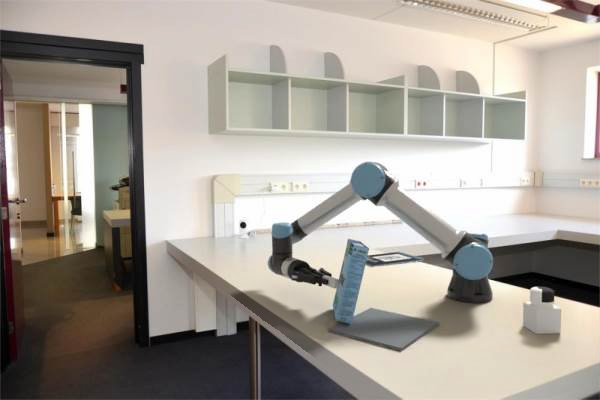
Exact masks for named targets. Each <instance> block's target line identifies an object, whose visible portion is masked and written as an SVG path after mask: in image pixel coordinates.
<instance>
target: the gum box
mask: <svg viewBox="0 0 600 400" xmlns="http://www.w3.org/2000/svg"><path fill="white" fill-rule="evenodd" d="M346 242H347V243H346V248H345V250H344V255H343V260H342V264H341V269H340V272H339V277H338V279H339V288H336V289H335V294H334V298H333V303H332V307H333V309H332V310H333V311H334V312H333V313H334V317H335V320H336V322H340V323H341V322H344V323H349V324H352V320H353V316H355V311H356V308H357V303H358V300H359V299H358V297H359V294H360V289H361V285H362V281H363V278H364V277H363V276H364V273H365V270H366V269H365V268H366V265H365V264H366V260H367V256H368V255H369V250H370V247H368V246H367V245H366V244H364V243H363V242H362V241H361V240H356V239H353V238H352V239H351V238H348V239H347V241H346Z"/></svg>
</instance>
